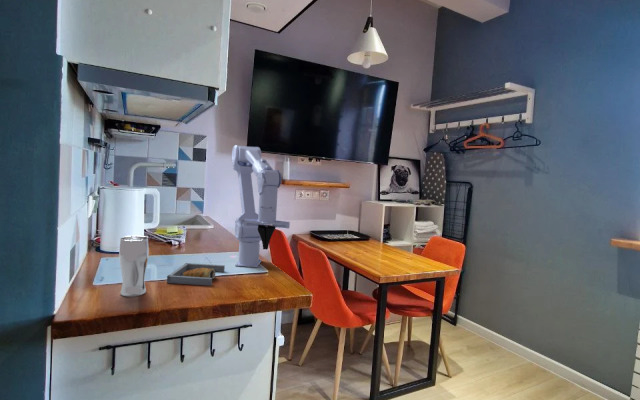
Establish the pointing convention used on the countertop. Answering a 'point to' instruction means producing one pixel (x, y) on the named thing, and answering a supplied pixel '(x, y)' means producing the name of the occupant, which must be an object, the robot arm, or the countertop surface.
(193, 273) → the pastry
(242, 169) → the robot arm
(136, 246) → the beer glass
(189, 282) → the tray slot
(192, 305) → the countertop surface
